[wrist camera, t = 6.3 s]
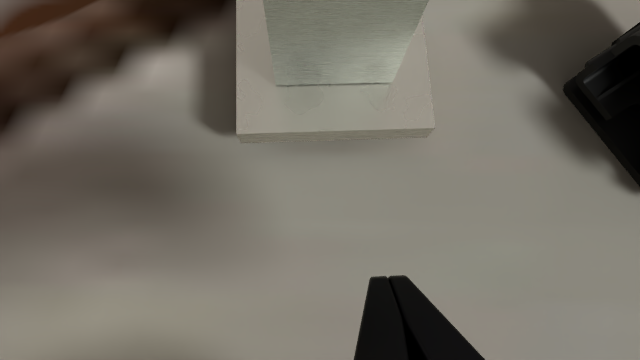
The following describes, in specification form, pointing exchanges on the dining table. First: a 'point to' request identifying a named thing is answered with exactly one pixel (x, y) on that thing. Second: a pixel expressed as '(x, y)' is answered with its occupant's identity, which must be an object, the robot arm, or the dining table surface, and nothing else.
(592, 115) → the end cap
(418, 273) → the dining table surface
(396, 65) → the brushed metal block
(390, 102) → the gray rectangular block
